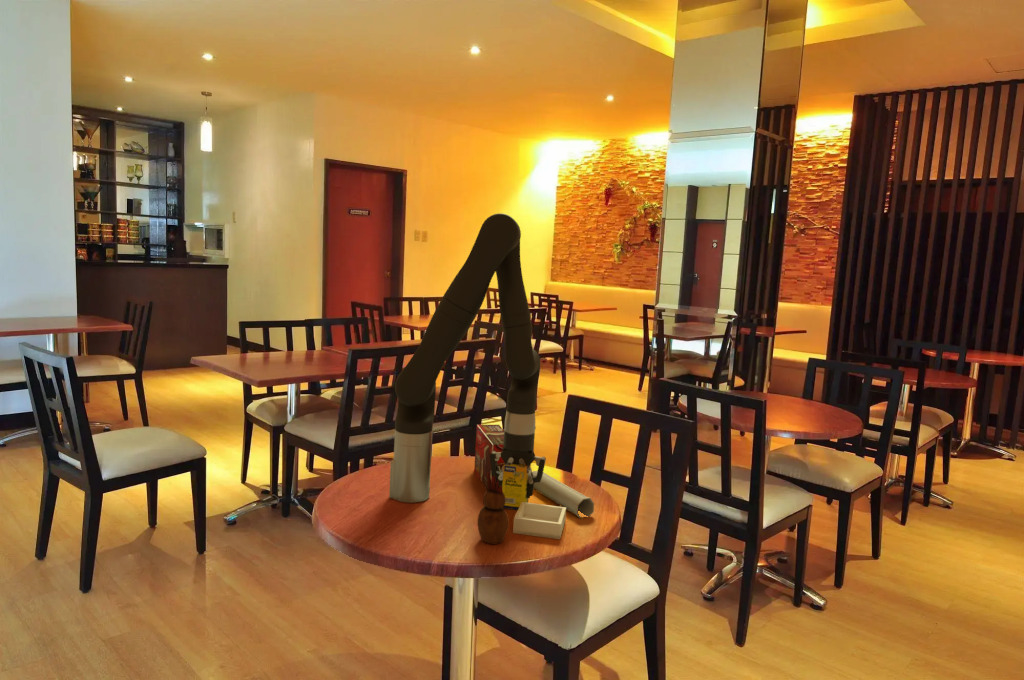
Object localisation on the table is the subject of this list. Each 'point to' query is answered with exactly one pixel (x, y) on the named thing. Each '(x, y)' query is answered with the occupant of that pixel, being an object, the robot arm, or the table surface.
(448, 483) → the table surface
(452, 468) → the table surface
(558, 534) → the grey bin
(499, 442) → the ice cream box
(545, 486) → the tube
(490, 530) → the wooden figurine
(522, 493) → the supplement box
